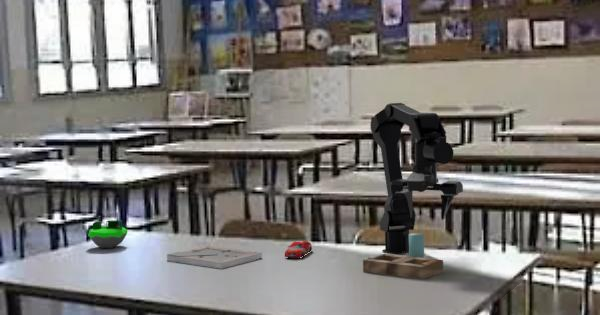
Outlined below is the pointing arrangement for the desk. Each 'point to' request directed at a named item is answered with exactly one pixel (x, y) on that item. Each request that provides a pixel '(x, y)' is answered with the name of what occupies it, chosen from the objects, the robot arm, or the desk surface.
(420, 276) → the socket block
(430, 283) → the desk surface
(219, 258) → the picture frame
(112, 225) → the green grey rounded piece
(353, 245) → the desk surface
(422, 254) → the teal rounded cylinder
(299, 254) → the race car
